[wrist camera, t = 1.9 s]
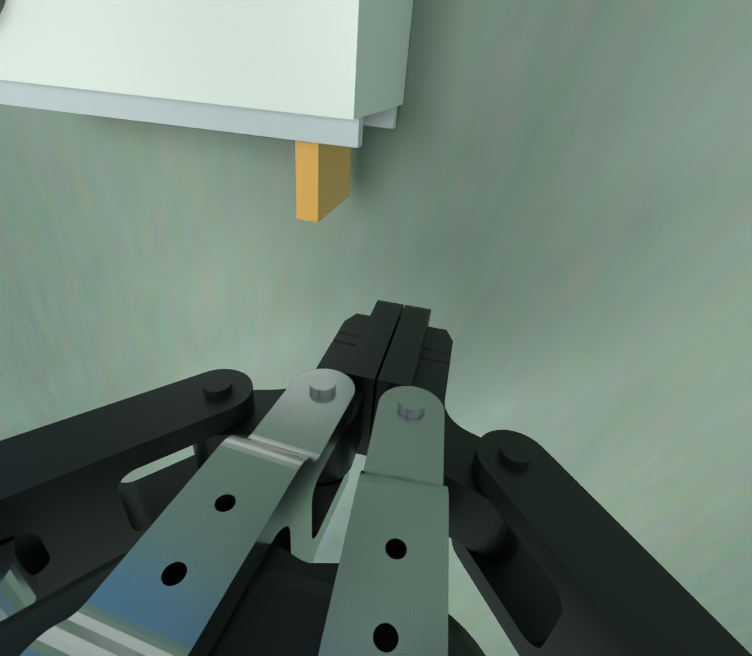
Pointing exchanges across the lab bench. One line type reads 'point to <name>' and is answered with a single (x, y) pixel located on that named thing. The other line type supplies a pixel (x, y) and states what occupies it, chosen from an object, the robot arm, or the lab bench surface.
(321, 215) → the side door
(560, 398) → the lab bench surface
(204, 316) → the lab bench surface
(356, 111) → the camera housing
